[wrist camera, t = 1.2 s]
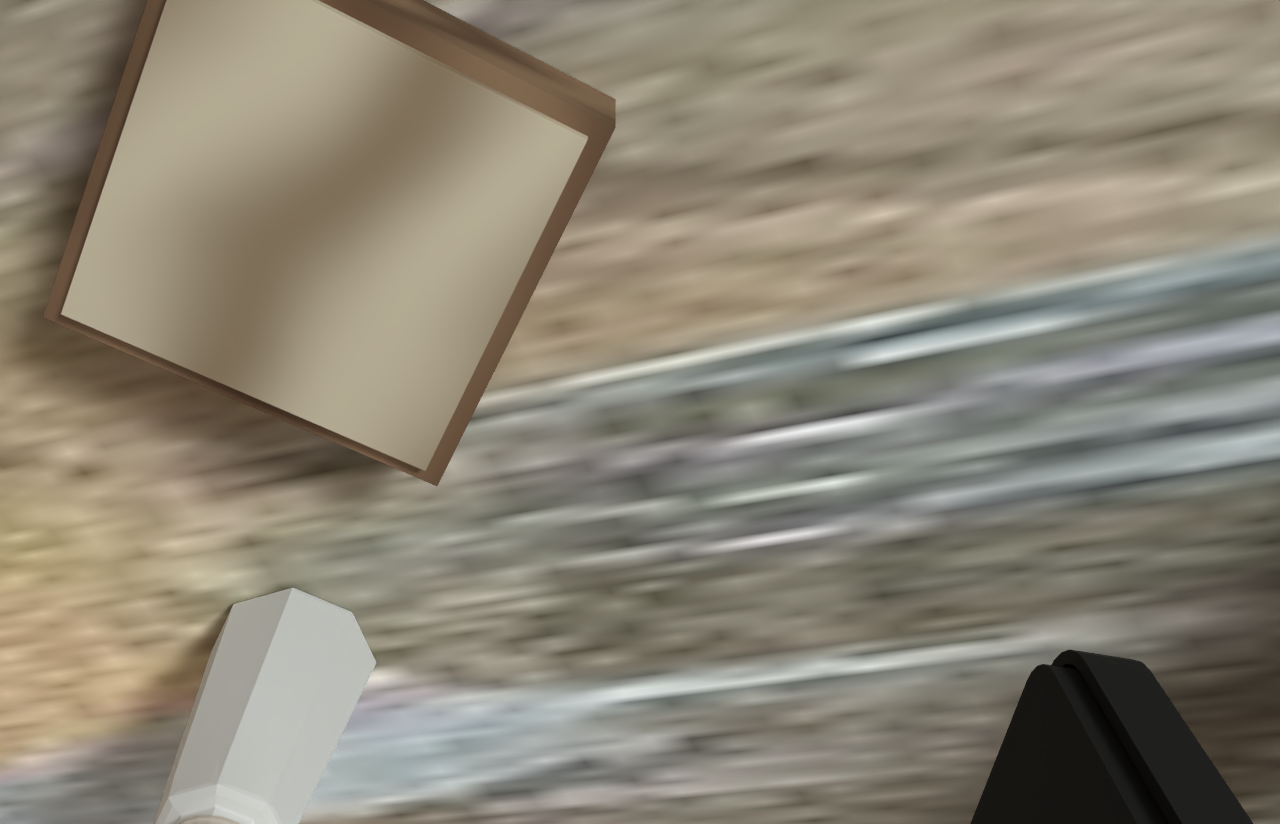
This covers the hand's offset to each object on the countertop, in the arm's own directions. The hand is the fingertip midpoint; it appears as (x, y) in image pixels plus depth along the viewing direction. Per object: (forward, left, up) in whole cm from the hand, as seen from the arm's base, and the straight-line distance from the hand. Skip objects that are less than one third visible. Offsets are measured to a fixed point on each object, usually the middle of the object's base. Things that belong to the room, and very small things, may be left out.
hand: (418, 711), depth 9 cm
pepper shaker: (-5, +20, -26) cm, 33 cm away
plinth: (+3, +6, -26) cm, 27 cm away
